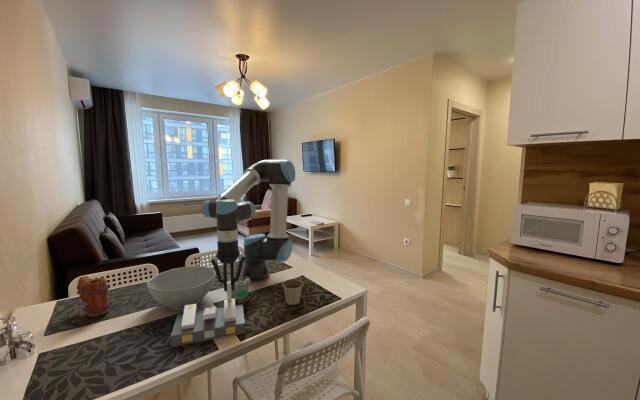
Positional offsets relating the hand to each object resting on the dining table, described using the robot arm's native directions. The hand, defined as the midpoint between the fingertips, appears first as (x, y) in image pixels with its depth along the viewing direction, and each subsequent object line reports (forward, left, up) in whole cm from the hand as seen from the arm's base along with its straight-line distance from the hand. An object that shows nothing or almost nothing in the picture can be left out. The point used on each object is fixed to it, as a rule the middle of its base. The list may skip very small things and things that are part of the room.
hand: (229, 298), depth 105 cm
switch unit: (+4, -7, -9) cm, 12 cm away
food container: (-12, +5, -9) cm, 16 cm away
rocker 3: (+4, 0, -3) cm, 5 cm away
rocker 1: (+4, -14, -3) cm, 15 cm away
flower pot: (-6, +27, -9) cm, 29 cm away
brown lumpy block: (-23, -53, -9) cm, 58 cm away
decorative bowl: (-20, -19, -9) cm, 29 cm away
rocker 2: (+4, -7, -3) cm, 8 cm away
